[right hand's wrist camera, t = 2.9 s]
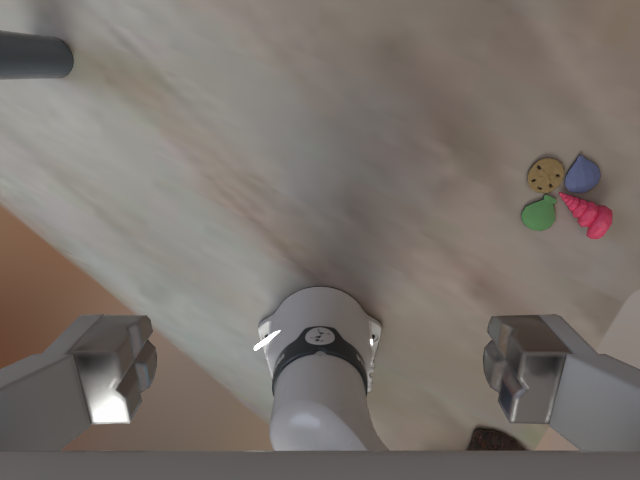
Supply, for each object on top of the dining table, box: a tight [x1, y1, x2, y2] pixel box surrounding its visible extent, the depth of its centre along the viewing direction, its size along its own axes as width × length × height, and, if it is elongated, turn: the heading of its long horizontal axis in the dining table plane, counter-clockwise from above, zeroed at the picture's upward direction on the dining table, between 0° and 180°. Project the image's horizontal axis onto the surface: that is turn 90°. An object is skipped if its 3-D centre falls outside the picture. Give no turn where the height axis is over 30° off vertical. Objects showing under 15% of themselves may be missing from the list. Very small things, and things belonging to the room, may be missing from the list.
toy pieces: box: [521, 155, 613, 239], centre depth 56 cm, size 12×11×4 cm
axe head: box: [468, 429, 525, 451], centre depth 75 cm, size 18×8×15 cm
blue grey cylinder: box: [0, 30, 73, 80], centre depth 45 cm, size 5×5×16 cm
